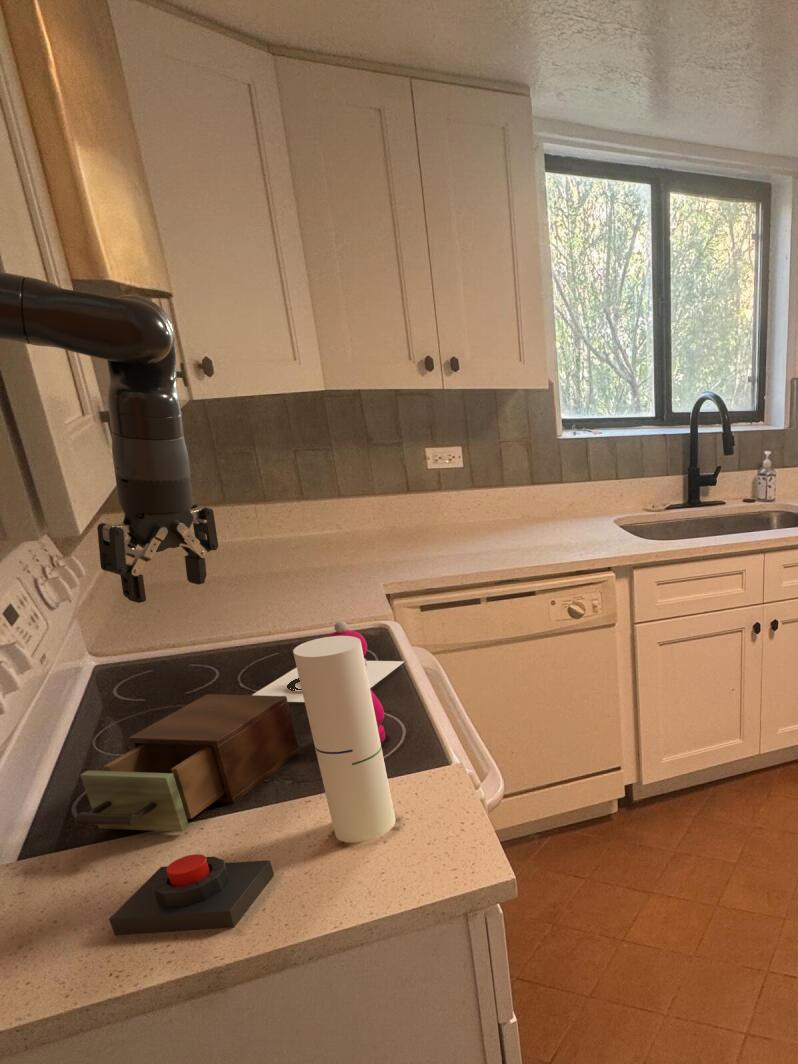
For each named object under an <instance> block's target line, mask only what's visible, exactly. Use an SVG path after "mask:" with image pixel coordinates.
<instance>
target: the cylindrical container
mask: <svg viewBox="0 0 798 1064" xmlns="http://www.w3.org/2000/svg"><path fill="white" fill-rule="evenodd" d="M292 653H293V657H294V660H295V666H296V667H297V671H298V675H299V680H300V684H301V688H302V693H303V697H304V701H305V702H304V706H305V710H306V714H307V718H308V722H309V727H310V733H311V737H312V740H313V744H314V750H315V754H316V758H317V762H318V767H319V771H320V775H321V780H322V784H323V787H324V788H323V789H324V793H325V797H326V801H327V806H328V811H329V815H330V819H331V823H332V828H333V832H334V837H335V838H336V839H337V840H339V841H341V842H345V843H361V842H366V841H370V840H374V839H376V838H379V837H381V836H382V835H384V834H386V833H387V832H389V831H390V830H391V829H392V828H393V827H394V826H395V824H396V814H395V811H394V810H395V809H394V805H393V799H392V794H391V789H390V785H389V779H388V773H387V769H386V764H385V759H384V753H383V748H382V743H380V738H379V732H378V727H377V722H376V717H375V712H374V707H373V702H372V697H371V691H370V689H371V688H370V686H369V681H368V676H367V671H366V666H365V661H364V658H365V655H364V656H363V650H362V645H361V640H360V639H358V638H356V637H352V636H331V637H328V636H326V637H320V638H315V639H312V640H308V641H305V642H302V643H301V644H299V645H297V646H296V647H294V649H293V650H292Z"/></svg>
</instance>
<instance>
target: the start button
mask: <svg viewBox="0 0 798 1064" xmlns="http://www.w3.org/2000/svg"><path fill="white" fill-rule="evenodd" d="M206 857H207V856H205V855H204V854H200V853H195V854H189V855H185V856H182V857H180V858H178V859H175V860H174V861H172V862H170V863H169V865H168V867H167V870H166V871H167V874H168V877H169V880H170V884H171V885H172V886H173V887H179V886H186V885H189V884H193V883H196V882H198V881H200V880H201V879H203V878H205V877H207V876H208V875H209V873H210V869H209V866H208V863H207V859H206Z"/></svg>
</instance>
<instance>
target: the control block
mask: <svg viewBox="0 0 798 1064" xmlns="http://www.w3.org/2000/svg"><path fill="white" fill-rule="evenodd" d="M205 857H206V859H207V863H208V866H209V869H210V873H209V875H208V876H207V877H205V878H203V879H201V880H200V881H198V882H196V883H193V884H189V885H186V886H179V887H173V886H172V885H171V884H170V880H169V877H168V874H167V871H166V870H167V867H168V866H169V865H168V866H160V867H159V868H158V869H157V870H156V871H155V872H154V873H153V874H152V875H151V876H150V877H149V878H148V879H147V880H146V881H145V882H144V883H143V884H142V885H141V886H140V887H139V888H138V889H137V890H136V891H135V892H134V893H133V894H132V895H131V896H130V897H129V898H128V899H127V900H126V901H125V902H124V903H123V904H122V905H121V906H120V907H119V908H118V909H117V910H116V911H115V912H114V914H112V916H111V917H109V918H108V920H109V924H110V927H111V929H112V932H113V935H114V936H128V935H143V934H144V935H145V934H157V933H158V934H159V933H160V934H161V933H174V932H176V933H177V932H188V931H189V932H190V931H204V930H218V929H219V930H220V929H235V928H236V926H237V925H238V924H239V923H240V921H241V920H242V919H243V917H244V916H245V914H246V913H247V912H248V910H249V909H250V908H251V907H252V905H253V904H254V903H255V901H256V900H257V899H258V897H260V895H261V894H262V892H263V891H264V890H265V888H266V887H267V886H268V885H269V883H270V882H271V881H272V879H273V878H274V877H275V874H274V873H275V872H274V869H273V866H272V861H271V860H270V859H268V860H251V861H249V860H248V861H233V862H232V861H231V862H225V860H224V859H221V858H219V857H216V856H205Z"/></svg>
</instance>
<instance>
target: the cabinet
mask: <svg viewBox="0 0 798 1064" xmlns="http://www.w3.org/2000/svg"><path fill="white" fill-rule="evenodd" d="M290 710H291V709H290V707H289V702H288V701H287V697H286V696H260V695H253V694H222V693H221V694H219V693H218V694H217V693H206V694H205V695H203V696H201V697H199V698H197V699H195V700H194V701H192V702H189V704H187V705H185V706H183V707H181V708H179V709H177V710H176V711H173V712H172V713H170V714H168V715H167V716H165V717H163V718H161V719H160V720H158V721H156V722H154V723H152V724H151V725H148V726H147V727H145V728H143V729H142V730H140V731H138V732H136V733H134V734H132V735H131V736H128V738H127V739H128V742H129V746H130V750H133V749H134V748H136V747H138V746H140V745H141V744H173V745H203V746H213V749H214V752H215V756H216V760H217V763H218V767H219V770H220V774H221V778H222V781H223V785H224V788H225V792H226V793H225V794H224V795H223V796H221V797H220V798H219V799H217V800H216V801H215V802H213V803H214V804H216V803H217V804H235V803H237V802H238V801H239V800H240V799H242V798H243V797H244V796H245V795H247V794H248V793H249V792H251V791H252V790H253V789H254V788H256V787H257V786H258V785H260V784H261V783H263V782H264V781H265V780H267V779H268V778H269V777H270V776H272V775H273V774H274V773H276V772H277V771H278V770H279V769H281V768H282V767H283V766H285V765H286V764H287V763H288V762H290V761H291V760H292V759H293V758H295V757H297V756H298V755H299V754H300V749H299V745H298V740H297V736H296V735H297V734H296V732H295V728H294V724H293V719H292V715H291V711H290ZM213 803H212V804H213Z"/></svg>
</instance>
